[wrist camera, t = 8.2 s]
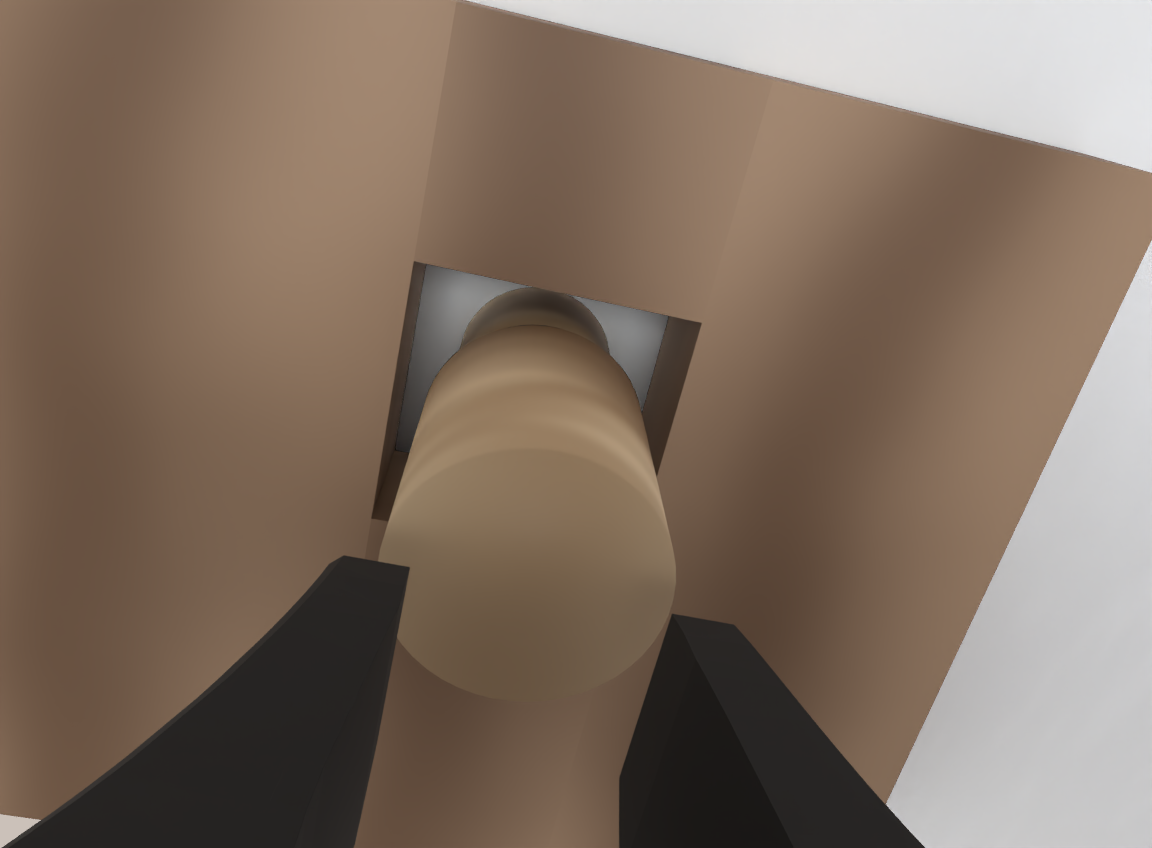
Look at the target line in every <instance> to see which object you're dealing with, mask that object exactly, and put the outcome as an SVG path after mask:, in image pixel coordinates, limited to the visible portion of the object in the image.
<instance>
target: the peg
mask: <svg viewBox="0 0 1152 848" xmlns="http://www.w3.org/2000/svg"><path fill="white" fill-rule="evenodd" d="M378 561H379V562H384V563H390V564H395V565H401V566H407V567H410V570H409V576H408V581H407V586H406V592H405V597H404V602H403V608H402V613H401V618H400V624H399V629H398V634H397V638H398V640H399V641H400V643H401V644H402V645H403V646H404V648H405V649H406V650H407V651H408V652H409V653H410V654H411V655H412V657H413V658H415V659H416V660H417V661H418V662H419V663H420V664H421V665H423V666H424V667H425V668H426V669H427V670H429V671H430V672H432V673H433V674H435V675H436V676H438V677H439V678H441V679H442V680H444V681H446V682H448V683H450V684H452V685H454V686H456V687H458V688H461V689H463V690H466V691H469V692H471V693H474V694H478V695H481V696H485V697H489V698H494V699H500V700H507V701H521V702H533V701H548V700H554V699H560V698H565V697H569V696H573V695H576V694H580V693H583V692H585V691H588V690H591V689H593V688H596V687H598V686H600V685H602V684H604V683H606V682H608V681H609V680H611V679H613V678H615V677H616V676H618V675H619V674H621V673H622V672H623V671H625V670H626V669H628V668H629V667H630V666H631V665H632V664H634V663H635V662H636V661H637V660H638V659H639V658H640V657H641V656H642V655H643V654H644V653H645V652H646V651H647V649H648V648H649V647H650V646H651V645H652V644H653V642H654V641H655V639H656V638H657V636H658V635H659V633H660V631H661V630H662V628H663V626H664V624H665V622H666V619H667V617H668V615H669V612H670V609H671V606H672V602H673V599H674V592H675V586H676V564H675V558H674V552H673V547H672V543H671V538H670V534H669V530H668V525H667V521H666V517H665V512H664V508H663V504H662V499H661V495H660V491H659V486H658V482H657V478H656V473H655V469H654V465H653V460H652V456H651V452H650V447H649V443H648V439H647V434H646V430H645V426H644V421H643V417H642V413H641V408H640V404H639V401H638V398H637V395H636V392H635V390H634V388H633V386H632V383H631V381H630V379H629V378H628V376H627V375H626V373H625V372H624V370H623V369H622V368H621V366H620V365H619V364H618V363H617V362H616V361H615V360H614V359H613V357H611V356H610V354H609V348H608V343H607V339H606V336H605V333H604V331H603V329H602V327H601V325H600V323H599V322H598V320H597V319H596V317H595V316H594V315H593V314H592V313H591V312H590V310H589V309H587V308H586V307H585V306H584V305H583V304H582V303H580V302H579V301H577V300H576V299H574V298H573V297H571V296H569V295H567V294H565V293H560V292H555V291H551V290H546V289H541V288H536V287H533V288H522V289H516V290H513V291H510V292H506V293H504V294H502V295H500V296H498V297H496V298H494V299H493V300H491V301H490V302H488V303H487V304H486V305H485V306H483V307H482V308H481V309H480V310H479V311H478V312H477V313H476V315H475V316H474V317H473V319H472V320H471V322H470V323H469V325H468V327H467V329H466V331H465V333H464V336H463V339H462V343H461V347H460V350H459V351H458V352H456V353H455V354H454V355H453V356H452V357H451V358H450V359H449V360H448V361H447V362H446V363H445V365H444V366H443V367H442V368H441V370H440V371H439V373H438V374H437V376H436V377H435V379H434V381H433V383H432V385H431V387H430V389H429V391H428V394H427V397H426V400H425V404H424V407H423V410H422V413H421V417H420V420H419V423H418V427H417V430H416V433H415V436H414V440H413V443H412V446H411V449H410V453H409V456H408V459H407V463H406V466H405V469H404V472H403V476H402V479H401V482H400V485H399V489H398V492H397V495H396V499H395V502H394V505H393V508H392V512H391V515H390V518H389V522H388V525H387V528H386V531H385V535H384V538H383V541H382V544H381V548H380V553H379V559H378Z"/></svg>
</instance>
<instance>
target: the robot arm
mask: <svg viewBox="0 0 1152 848" xmlns="http://www.w3.org/2000/svg"><path fill="white" fill-rule="evenodd" d="M409 570H410V567H407V566H401V565H395V564H390V563H384V562H379V561H373V560H367V559H362V558H356V557H350V556H345V555H343V556H341V557H340V558H338V559H336V560H335V561H333V562H331V563H330V564H329V565H328V566H327V567H326V568H325V570H324V571H323V572H322V574H321V575H320V576H319V577H318V578H317V580H316V581H315V582H314V583H313V584H312V585H311V587H310V588H309V589H308V590H307V591H306V592H305V593H304V594H303V596H302V597H301V598H300V599H299V600H298V601H297V602H296V603H295V604H294V605H293V606H292V607H291V609H290V610H289V611H288V612H287V613H286V614H285V615H284V616H283V617H282V618H281V619H280V620H279V621H278V622H277V623H276V624H275V625H274V626H273V627H272V628H271V629H270V630H269V631H268V632H267V633H266V634H265V635H264V636H263V637H262V638H261V639H260V640H259V641H258V642H257V643H256V644H255V645H254V646H253V647H251V648H250V649H249V650H248V651H247V652H246V653H245V654H244V655H243V656H242V657H241V658H240V659H239V660H238V661H237V662H235V663H234V664H233V665H232V666H231V667H230V668H229V669H228V670H227V671H226V672H225V673H224V674H223V675H222V676H221V677H220V678H218V679H217V680H216V681H215V682H214V683H213V684H212V685H211V686H210V687H209V688H208V689H206V690H205V691H204V692H203V693H202V694H201V695H200V696H199V697H197V698H196V699H195V700H194V701H193V702H191V703H190V704H189V705H188V706H187V707H185V708H184V709H183V710H182V711H181V712H179V713H178V714H177V715H176V716H175V717H173V718H172V719H171V720H170V721H169V722H167V723H166V724H165V725H164V726H163V727H161V728H160V729H159V730H158V731H157V732H155V733H154V734H153V735H152V736H150V737H149V738H148V739H147V740H146V741H144V742H143V743H142V744H141V745H140V746H138V747H137V748H136V749H135V750H134V751H132V752H131V753H130V754H129V755H128V756H126V757H125V758H124V759H123V760H121V761H120V762H119V763H117V764H116V765H115V766H114V767H112V768H111V769H110V770H108V771H107V772H106V773H104V774H103V775H102V776H101V777H99V778H98V779H97V780H95V781H94V782H93V783H91V784H90V785H89V786H87V787H86V788H85V789H83V790H82V791H81V792H79V793H78V794H77V795H75V796H74V797H73V798H71V799H70V800H69V801H67V802H66V803H64V804H63V805H62V806H60V807H59V808H58V809H56V810H55V811H53V812H52V813H51V814H49V815H48V816H46V817H45V818H44V819H42V820H41V821H39V822H38V823H36V824H35V825H34V826H32V827H31V828H30V829H28V830H27V831H25V832H24V833H22V834H21V835H19V836H18V837H17V838H15V839H14V840H12V841H11V842H9V843H8V844H7V845H5V846H4V847H2V848H354V845H355V841H356V837H357V832H358V828H359V823H360V819H361V814H362V810H363V805H364V801H365V796H366V791H367V787H368V782H369V778H370V773H371V768H372V764H373V759H374V755H375V750H376V745H377V741H378V736H379V730H380V725H381V720H382V714H383V709H384V704H385V698H386V693H387V688H388V682H389V677H390V672H391V666H392V661H393V656H394V650H395V645H396V640H397V634H398V629H399V624H400V618H401V613H402V608H403V602H404V597H405V592H406V586H407V581H408V576H409ZM619 848H925V847H924V846H923V845H922V844H921V843H920V842H919V841H918V840H917V839H916V838H915V837H914V836H913V835H912V833H911V832H910V831H909V830H908V829H907V828H906V827H905V826H904V825H903V824H902V822H901V821H900V820H899V819H898V818H897V817H896V816H895V815H894V813H893V812H892V811H891V810H890V809H889V808H888V807H887V806H886V805H885V803H884V802H883V801H882V800H881V799H880V798H879V797H878V796H877V794H876V793H875V792H874V791H873V790H872V789H871V788H870V786H869V785H868V784H867V783H866V782H865V781H864V779H863V778H862V777H861V776H860V775H859V774H858V773H857V771H856V770H855V769H854V768H853V767H852V765H851V764H850V763H849V762H848V761H847V760H846V758H845V757H844V756H843V755H842V754H841V752H840V751H839V750H838V749H837V748H836V747H835V745H834V744H833V743H832V742H831V741H830V739H829V738H828V737H827V736H826V735H825V733H824V732H823V731H822V730H821V729H820V727H819V726H818V725H817V724H816V722H815V721H814V720H813V719H812V718H811V716H810V715H809V714H808V713H807V711H806V710H805V709H804V708H803V707H802V705H801V704H800V703H799V702H798V700H797V699H796V698H795V697H794V696H793V694H792V693H791V692H790V691H789V689H788V688H787V687H786V686H785V684H784V683H783V682H782V681H781V680H780V678H779V677H778V676H777V675H776V673H775V672H774V671H773V670H772V668H771V667H770V666H769V665H768V664H767V662H766V661H765V660H764V659H763V657H762V656H761V655H760V654H759V653H758V651H757V650H756V649H755V648H754V647H753V645H752V644H751V643H750V642H749V641H748V640H747V638H746V637H745V636H744V635H743V634H742V633H741V632H740V631H739V629H738V628H737V627H736V626H735V625H734V624H728V623H723V622H717V621H711V620H706V619H700V618H694V617H689V616H683V615H677V614H672V615H671V618H670V621H669V624H668V627H667V630H666V633H665V637H664V640H663V643H662V646H661V649H660V652H659V655H658V658H657V662H656V665H655V668H654V671H653V674H652V677H651V680H650V683H649V686H648V690H647V693H646V696H645V699H644V702H643V705H642V708H641V711H640V714H639V718H638V721H637V724H636V727H635V730H634V733H633V736H632V739H631V742H630V746H629V749H628V752H627V755H626V758H625V761H624V764H623V767H622V770H621V774H620V777H619Z"/></svg>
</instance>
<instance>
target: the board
mask: <svg viewBox="0 0 1152 848" xmlns="http://www.w3.org/2000/svg"><path fill="white" fill-rule="evenodd" d="M1151 240H1152V173H1150V172H1147V171H1143V170H1139V169H1136V168H1132V167H1129V166H1125V165H1122V164H1118V163H1114V162H1111V161H1107V160H1104V159H1100V158H1097V157H1093V156H1090V155H1086V154H1082V153H1078V152H1074V151H1070V150H1066V149H1062V148H1058V147H1054V146H1050V145H1046V144H1042V143H1038V142H1034V141H1030V140H1026V139H1022V138H1017V137H1013V136H1009V135H1005V134H1001V133H997V132H993V131H989V130H985V129H981V128H977V127H973V126H969V125H965V124H961V123H957V122H953V121H949V120H945V119H941V118H937V117H933V116H929V115H925V114H921V113H917V112H913V111H909V110H905V109H901V108H897V107H893V106H888V105H884V104H880V103H876V102H872V101H868V100H864V99H860V98H856V97H852V96H848V95H844V94H840V93H836V92H832V91H828V90H824V89H820V88H816V87H812V86H808V85H804V84H800V83H796V82H792V81H788V80H784V79H780V78H776V77H772V76H768V75H764V74H759V73H755V72H751V71H747V70H743V69H739V68H735V67H731V66H727V65H723V64H719V63H715V62H711V61H707V60H703V59H699V58H695V57H691V56H687V55H683V54H679V53H675V52H671V51H667V50H663V49H659V48H655V47H651V46H647V45H643V44H639V43H635V42H630V41H626V40H622V39H618V38H614V37H610V36H606V35H602V34H598V33H594V32H590V31H586V30H582V29H578V28H574V27H570V26H566V25H562V24H558V23H554V22H550V21H546V20H542V19H538V18H534V17H530V16H526V15H522V14H518V13H514V12H510V11H506V10H501V9H497V8H493V7H489V6H485V5H481V4H477V3H473V2H469V1H465V0H0V814H3V815H11V816H18V817H25V818H32V819H39V820H42V819H44V818H45V817H46V816H48V815H49V814H51V813H52V812H53V811H55V810H56V809H58V808H59V807H60V806H62V805H63V804H64V803H66V802H67V801H69V800H70V799H71V798H73V797H74V796H75V795H77V794H78V793H79V792H81V791H82V790H83V789H85V788H86V787H87V786H89V785H90V784H91V783H93V782H94V781H95V780H97V779H98V778H99V777H101V776H102V775H103V774H104V773H106V772H107V771H108V770H110V769H111V768H112V767H114V766H115V765H116V764H117V763H119V762H120V761H121V760H123V759H124V758H125V757H126V756H128V755H129V754H130V753H131V752H132V751H134V750H135V749H136V748H137V747H138V746H140V745H141V744H142V743H143V742H144V741H146V740H147V739H148V738H149V737H150V736H152V735H153V734H154V733H155V732H157V731H158V730H159V729H160V728H161V727H163V726H164V725H165V724H166V723H167V722H169V721H170V720H171V719H172V718H173V717H175V716H176V715H177V714H178V713H179V712H181V711H182V710H183V709H184V708H185V707H187V706H188V705H189V704H190V703H191V702H193V701H194V700H195V699H196V698H197V697H199V696H200V695H201V694H202V693H203V692H204V691H205V690H206V689H208V688H209V687H210V686H211V685H212V684H213V683H214V682H215V681H216V680H217V679H218V678H220V677H221V676H222V675H223V674H224V673H225V672H226V671H227V670H228V669H229V668H230V667H231V666H232V665H233V664H234V663H235V662H237V661H238V660H239V659H240V658H241V657H242V656H243V655H244V654H245V653H246V652H247V651H248V650H249V649H250V648H251V647H253V646H254V645H255V644H256V643H257V642H258V641H259V640H260V639H261V638H262V637H263V636H264V635H265V634H266V633H267V632H268V631H269V630H270V629H271V628H272V627H273V626H274V625H275V624H276V623H277V622H278V621H279V620H280V619H281V618H282V617H283V616H284V615H285V614H286V613H287V612H288V611H289V610H290V609H291V607H292V606H293V605H294V604H295V603H296V602H297V601H298V600H299V599H300V598H301V597H302V596H303V594H304V593H305V592H306V591H307V590H308V589H309V588H310V587H311V585H312V584H313V583H314V582H315V581H316V580H317V578H318V577H319V576H320V575H321V574H322V572H323V571H324V570H325V568H326V567H327V566H328V565H329V564H330V563H331V562H333V561H335V560H336V559H338V558H340V557H341V556H343V555H345V556H350V557H356V558H362V559H367V560H373V561H378V559H379V553H380V548H381V544H382V541H383V538H384V535H385V531H386V528H387V525H388V522H389V518H390V515H391V512H392V508H393V505H394V502H395V499H396V495H397V492H398V489H399V485H400V482H401V479H402V476H403V472H404V469H405V466H406V463H407V459H408V456H409V453H406V452H401V451H395V444H396V438H397V432H398V426H399V420H400V414H401V409H402V403H403V397H404V391H405V385H406V379H407V373H408V367H409V362H410V356H411V350H412V344H413V338H414V332H415V326H416V320H417V315H418V309H419V303H420V297H421V291H422V285H423V279H424V273H425V268H426V264H430V265H434V266H439V267H443V268H448V269H453V270H457V271H462V272H467V273H471V274H476V275H481V276H485V277H490V278H495V279H499V280H504V281H509V282H513V283H518V284H523V285H527V286H532V287H537V288H541V289H546V290H551V291H555V292H560V293H565V294H569V295H574V296H579V297H583V298H588V299H593V300H597V301H602V302H606V303H611V304H616V305H620V306H625V307H630V308H634V309H639V310H644V311H648V312H653V313H658V314H662V315H667V316H669V319H668V322H667V326H666V329H665V333H664V337H663V340H662V344H661V347H660V351H659V355H658V358H657V362H656V365H655V369H654V373H653V376H652V380H651V383H650V387H649V390H648V394H647V398H646V401H645V405H644V408H643V412H642V417H643V421H644V426H645V430H646V434H647V439H648V443H649V447H650V452H651V456H652V460H653V465H654V469H655V473H656V478H657V482H658V486H659V491H660V495H661V499H662V504H663V508H664V512H665V517H666V521H667V525H668V530H669V534H670V538H671V543H672V547H673V552H674V558H675V564H676V586H675V592H674V599H673V602H672V606H671V609H670V612H669V615H668V617H667V619H666V622H665V624H664V626H663V628H662V630H661V631H660V633H659V635H658V636H657V638H656V639H655V641H654V642H653V644H652V645H651V646H650V647H649V648H648V649H647V651H646V652H645V653H644V654H643V655H642V656H641V657H640V658H639V659H638V660H637V661H636V662H635V663H634V664H632V665H631V666H630V667H629V668H628V669H626V670H625V671H623V672H622V673H621V674H619V675H618V676H616V677H615V678H613V679H611V680H609V681H608V682H606V683H604V684H602V685H600V686H598V687H596V688H593V689H591V690H588V691H585V692H583V693H580V694H576V695H573V696H569V697H565V698H560V699H554V700H548V701H533V702H521V701H507V700H500V699H494V698H489V697H485V696H481V695H478V694H474V693H471V692H469V691H466V690H463V689H461V688H458V687H456V686H454V685H452V684H450V683H448V682H446V681H444V680H442V679H441V678H439V677H438V676H436V675H435V674H433V673H432V672H430V671H429V670H427V669H426V668H425V667H424V666H423V665H421V664H420V663H419V662H418V661H417V660H416V659H415V658H413V657H412V655H411V654H410V653H409V652H408V651H407V650H406V649H405V648H404V646H403V645H402V644H401V643H400V641H399V640H398V638H397V640H396V645H395V650H394V656H393V661H392V666H391V672H390V677H389V682H388V688H387V693H386V698H385V704H384V709H383V714H382V720H381V725H380V730H379V736H378V741H377V745H376V750H375V755H374V759H373V764H372V768H371V773H370V778H369V782H368V787H367V791H366V796H365V801H364V805H363V810H362V814H361V819H360V823H359V828H358V832H357V837H356V841H355V845H354V848H619V777H620V774H621V770H622V767H623V764H624V761H625V758H626V755H627V752H628V749H629V746H630V742H631V739H632V736H633V733H634V730H635V727H636V724H637V721H638V718H639V714H640V711H641V708H642V705H643V702H644V699H645V696H646V693H647V690H648V686H649V683H650V680H651V677H652V674H653V671H654V668H655V665H656V662H657V658H658V655H659V652H660V649H661V646H662V643H663V640H664V637H665V633H666V630H667V627H668V624H669V621H670V618H671V615H672V614H677V615H683V616H689V617H694V618H700V619H706V620H711V621H717V622H723V623H728V624H734V625H735V626H736V627H737V628H738V629H739V631H740V632H741V633H742V634H743V635H744V636H745V637H746V638H747V640H748V641H749V642H750V643H751V644H752V645H753V647H754V648H755V649H756V650H757V651H758V653H759V654H760V655H761V656H762V657H763V659H764V660H765V661H766V662H767V664H768V665H769V666H770V667H771V668H772V670H773V671H774V672H775V673H776V675H777V676H778V677H779V678H780V680H781V681H782V682H783V683H784V684H785V686H786V687H787V688H788V689H789V691H790V692H791V693H792V694H793V696H794V697H795V698H796V699H797V700H798V702H799V703H800V704H801V705H802V707H803V708H804V709H805V710H806V711H807V713H808V714H809V715H810V716H811V718H812V719H813V720H814V721H815V722H816V724H817V725H818V726H819V727H820V729H821V730H822V731H823V732H824V733H825V735H826V736H827V737H828V738H829V739H830V741H831V742H832V743H833V744H834V745H835V747H836V748H837V749H838V750H839V751H840V752H841V754H842V755H843V756H844V757H845V758H846V760H847V761H848V762H849V763H850V764H851V765H852V767H853V768H854V769H855V770H856V771H857V773H858V774H859V775H860V776H861V777H862V778H863V779H864V781H865V782H866V783H867V784H868V785H869V786H870V788H871V789H872V790H873V791H874V792H875V793H876V794H877V796H878V797H879V798H880V799H881V800H882V801H883V802H884V803H885V804H886V802H887V800H888V798H889V796H890V794H891V792H892V789H893V787H894V785H895V783H896V781H897V779H898V777H899V775H900V772H901V770H902V768H903V766H904V764H905V762H906V760H907V758H908V755H909V753H910V751H911V749H912V747H913V745H914V743H915V741H916V738H917V736H918V734H919V732H920V730H921V728H922V726H923V724H924V721H925V719H926V717H927V715H928V713H929V711H930V709H931V707H932V705H933V702H934V700H935V698H936V696H937V694H938V692H939V690H940V688H941V685H942V683H943V681H944V679H945V677H946V675H947V673H948V671H949V668H950V666H951V664H952V662H953V660H954V658H955V656H956V654H957V651H958V649H959V647H960V645H961V643H962V641H963V639H964V637H965V635H966V632H967V630H968V628H969V626H970V624H971V622H972V620H973V618H974V615H975V613H976V611H977V609H978V607H979V605H980V603H981V601H982V598H983V596H984V594H985V592H986V590H987V588H988V586H989V584H990V581H991V579H992V577H993V575H994V573H995V571H996V569H997V567H998V564H999V562H1000V560H1001V558H1002V556H1003V554H1004V552H1005V550H1006V548H1007V545H1008V543H1009V541H1010V539H1011V537H1012V535H1013V533H1014V531H1015V528H1016V526H1017V524H1018V522H1019V520H1020V518H1021V516H1022V514H1023V511H1024V509H1025V507H1026V505H1027V503H1028V501H1029V499H1030V497H1031V494H1032V492H1033V490H1034V488H1035V486H1036V484H1037V482H1038V480H1039V477H1040V475H1041V473H1042V471H1043V469H1044V467H1045V465H1046V463H1047V461H1048V458H1049V456H1050V454H1051V452H1052V450H1053V448H1054V446H1055V444H1056V441H1057V439H1058V437H1059V435H1060V433H1061V431H1062V429H1063V427H1064V424H1065V422H1066V420H1067V418H1068V416H1069V414H1070V412H1071V410H1072V407H1073V405H1074V403H1075V401H1076V399H1077V397H1078V395H1079V393H1080V391H1081V388H1082V386H1083V384H1084V382H1085V380H1086V378H1087V376H1088V374H1089V371H1090V369H1091V367H1092V365H1093V363H1094V361H1095V359H1096V357H1097V354H1098V352H1099V350H1100V348H1101V346H1102V344H1103V342H1104V340H1105V337H1106V335H1107V333H1108V331H1109V329H1110V327H1111V325H1112V323H1113V320H1114V318H1115V316H1116V314H1117V312H1118V310H1119V308H1120V306H1121V304H1122V301H1123V299H1124V297H1125V295H1126V293H1127V291H1128V289H1129V287H1130V284H1131V282H1132V280H1133V278H1134V276H1135V274H1136V272H1137V270H1138V267H1139V265H1140V263H1141V261H1142V259H1143V257H1144V255H1145V253H1146V250H1147V248H1148V246H1149V244H1150V242H1151Z"/></svg>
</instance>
